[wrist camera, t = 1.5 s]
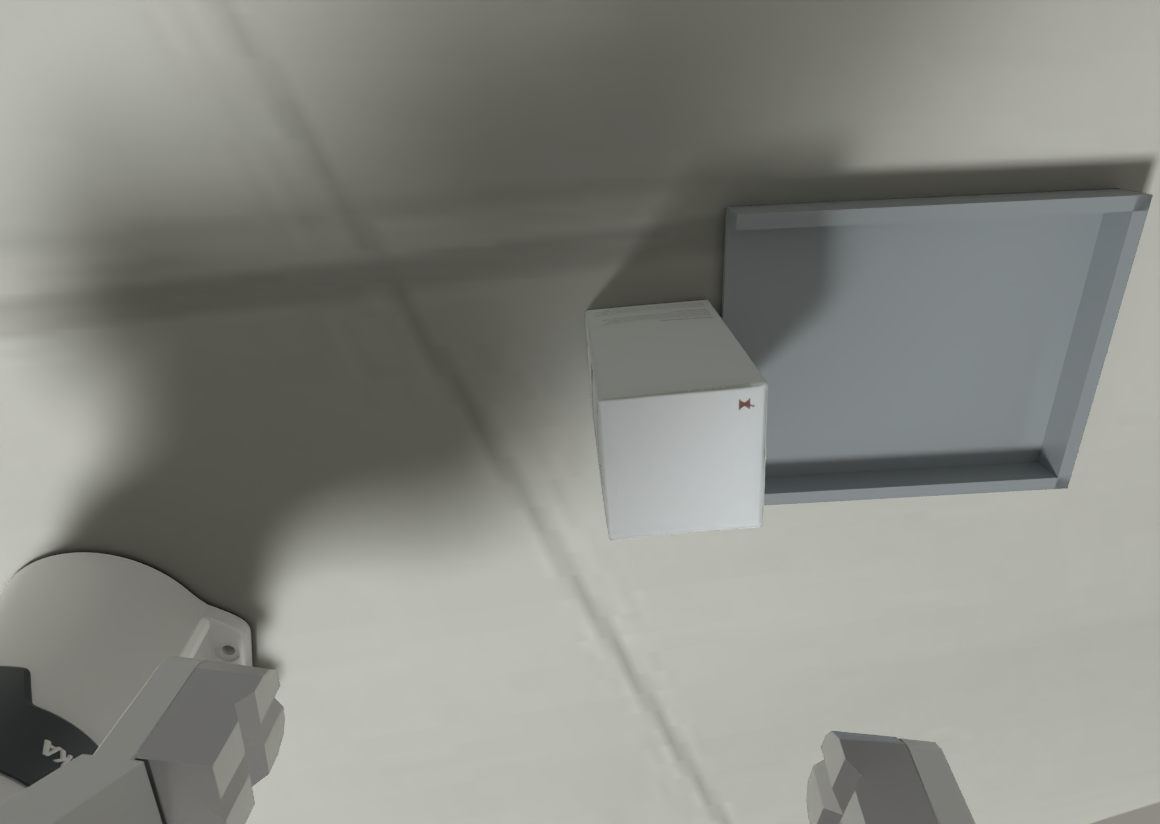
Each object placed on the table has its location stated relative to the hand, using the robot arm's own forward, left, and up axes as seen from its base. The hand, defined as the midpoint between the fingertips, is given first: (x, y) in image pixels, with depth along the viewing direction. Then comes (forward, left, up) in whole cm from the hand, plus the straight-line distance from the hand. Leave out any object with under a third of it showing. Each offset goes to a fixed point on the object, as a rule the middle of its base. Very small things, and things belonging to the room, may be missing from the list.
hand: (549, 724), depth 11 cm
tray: (-7, -21, -32) cm, 38 cm away
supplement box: (-7, -6, -32) cm, 33 cm away
